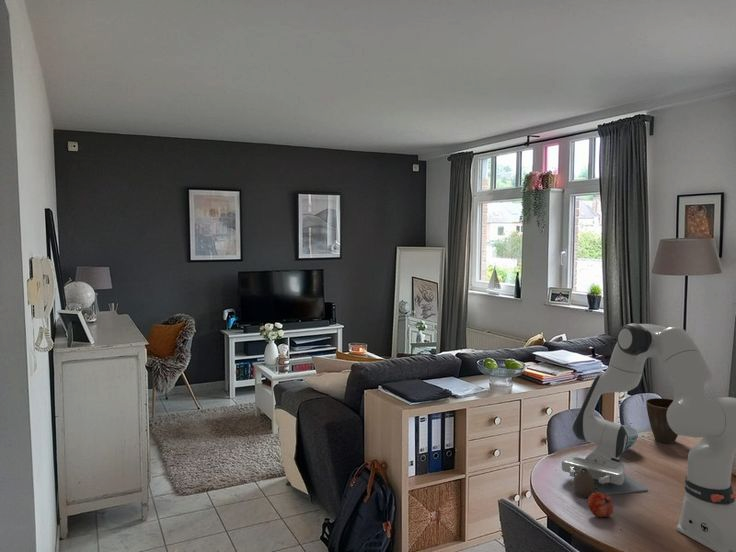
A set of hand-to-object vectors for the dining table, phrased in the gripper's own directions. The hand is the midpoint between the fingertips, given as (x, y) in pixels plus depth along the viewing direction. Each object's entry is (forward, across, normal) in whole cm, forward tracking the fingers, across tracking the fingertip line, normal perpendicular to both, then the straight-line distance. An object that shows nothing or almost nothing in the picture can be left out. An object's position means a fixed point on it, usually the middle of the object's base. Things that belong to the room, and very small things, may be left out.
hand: (586, 477), depth 195 cm
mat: (-16, +3, +5) cm, 17 cm away
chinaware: (-49, -2, +6) cm, 50 cm away
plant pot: (-71, +11, +6) cm, 72 cm away
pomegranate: (+12, +8, +6) cm, 16 cm away
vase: (+2, 0, +6) cm, 6 cm away
